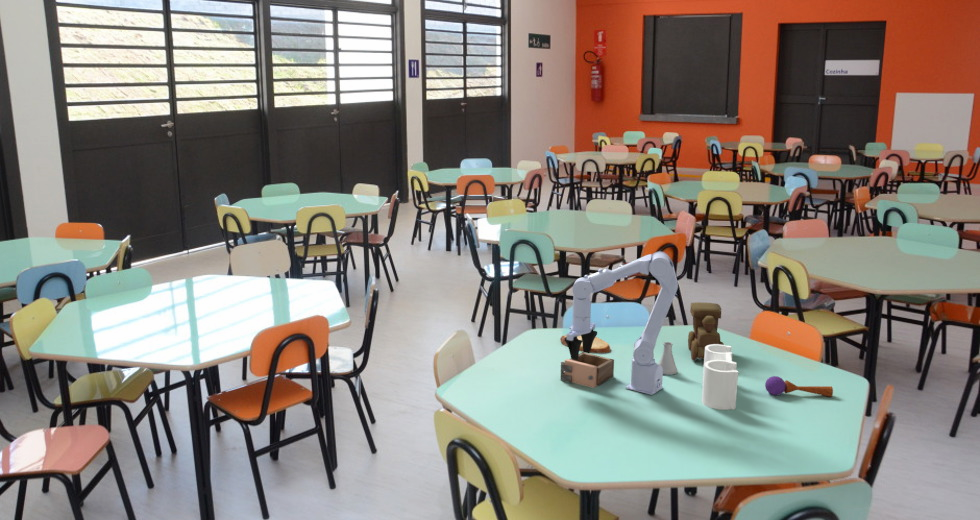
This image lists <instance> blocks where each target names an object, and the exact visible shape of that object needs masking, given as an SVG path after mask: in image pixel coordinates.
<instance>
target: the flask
mask: <svg viewBox="0 0 980 520" xmlns="http://www.w3.org/2000/svg"><path fill="white" fill-rule="evenodd" d="M662 344H663V351H662V354H661V356H660V358H659V362H658V363H657V364H658V365H661V366H662V368H663V375H666V376H667V375H668V376H671V375H676V374H677V373H678V368H677V365H676V362H675V359H674V355H673V345H674V343H672V342H670V341H664V342H663V343H662Z"/></svg>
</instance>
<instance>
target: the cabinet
mask: <svg viewBox="0 0 980 520" xmlns="http://www.w3.org/2000/svg"><path fill="white" fill-rule="evenodd" d="M569 359H570V360H574V359H571V358H569ZM574 361H578V362H582V363H586V364H590V365H594V366H597V374H596V387H598V386H599V387H600V386H601V385H602V384H604V383H606V382H607V381H609V380H610V379H612V378H613V377H614V375H615V373H614V372H615V370H614V368H615V359H613V358H608V357H606V356H601V355H597V354H594V353H585V352H583V351H581V352H579V357H578V360H574ZM571 370H572V366H568V365H565V361H561V362H560V381H562V382H566V383H570V384H571V383H572V382H571V376H569V375H565V374H564V372H569V373H571Z"/></svg>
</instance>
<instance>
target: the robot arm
mask: <svg viewBox="0 0 980 520" xmlns="http://www.w3.org/2000/svg"><path fill="white" fill-rule="evenodd" d="M674 266H675V265H674V262H673V261H672V259H671V257H670V256H669V255H668V254H667V253H666V252H664V251H656V252H654V253H650V254H646V255H644V256H642V257H639V258H637V259H635V260H633V261H630V262H627V263H626V264H623V265H621V266H619V267H616V268H614V269H612V270H611V269H608V268H604V269H603V268H602V267H601V268H599V269H598V270H597V271H596V272H595V273H592V274H585V275H584V276H583V277H579V278H577V279H576V280H575V281H574V284H573V286H572V294H573V296H572V297H573V298H572V299H573V300H572V325H570V326H569V327H568V328H569V332H568V333H566V335H567V337H565V342H566V344H567V346H568V347H567V346H566V347H567V348H568V351H569V354H570V359H574V360H578V357H579V354H580V351H579V349H580V346H581V343H583V351H582V352H584V353H588V354H591V353H590V351H591V347H592V344H593V341H594V339H595V337H597V335H598V331H596V323H593V322H591V319H592V318H591V313H592V310H591V309H592V301H591V294H595V293H598V292H600V291H602V290H604V289H605V290H606V289H608V288H611V287H613V286H614V285H615V282H616V281H617V280H621V279H623V278H625V277H629V276H632V275H636V274H637V273H641V274H644V275H647V276H648V275H649V272H650V274H651V275H652V277H654V278H655V279H656V280H657V281H658V283H659V284H660V286H661V287H660V290H659V292H658V295H657V297H656V298H655V299H656V300H655V302H654V304H653V307H652V310H651V312H650V315H649V317H648V319H647V323H646V324H645V327H644V330H643V331H642V332H641V334H640V336H639V338H637V339H636V340H635V342H634V345H633V348H634V349H633V355H632V356H633V357H632V359H631V369H630V370H631V376H630V383H629V384H628V385H626V386H625V389H626V390H630V391H631V390H632V391H635V392H639V393H643V394H646V395H650V396H653V395H655V394H656V393H657V392H659V391H660V390H662V389H663V388H664V386H663V380H664V379H663V376H664V374H663V368H662V366H661V365H658V364H659V363H657V362H656V360H655V358H654V356H655V354H654V349H655V347H656V345H657V340H658V337H659V335H660V332H661V329H662V327H663V325H664V324H665V323H664V322H665V320H666V318H667V315H668V313H669V310H670V307H671V306H672V303H673V301H674V298H675V295H676V293H677V291H678V288H679V284H678V283H679V282H678V279H677V273H676V271H675V267H674ZM580 335H581V337H582V340H578V338H577V337H578V336H580Z"/></svg>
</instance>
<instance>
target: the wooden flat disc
mask: <svg viewBox="0 0 980 520" xmlns="http://www.w3.org/2000/svg"><path fill="white" fill-rule="evenodd" d="M565 337H567V334H565V335H562V336H560V338H559V339H560V342H561V345H563V346H565V347H567V348H568V346H567V344H566V342H565ZM577 338H578V340H582V337H581V335H580V336H578V337H577ZM611 351H612V349H611V347H610V344H609V342H606V341H605V340H603V339H602V338H600V337H597V336H596V337H595V339H594V341H593V344H592V347H591V351H590V353H589V354H606V353H611ZM579 352H583V343H581V346H580V349H579Z"/></svg>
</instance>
